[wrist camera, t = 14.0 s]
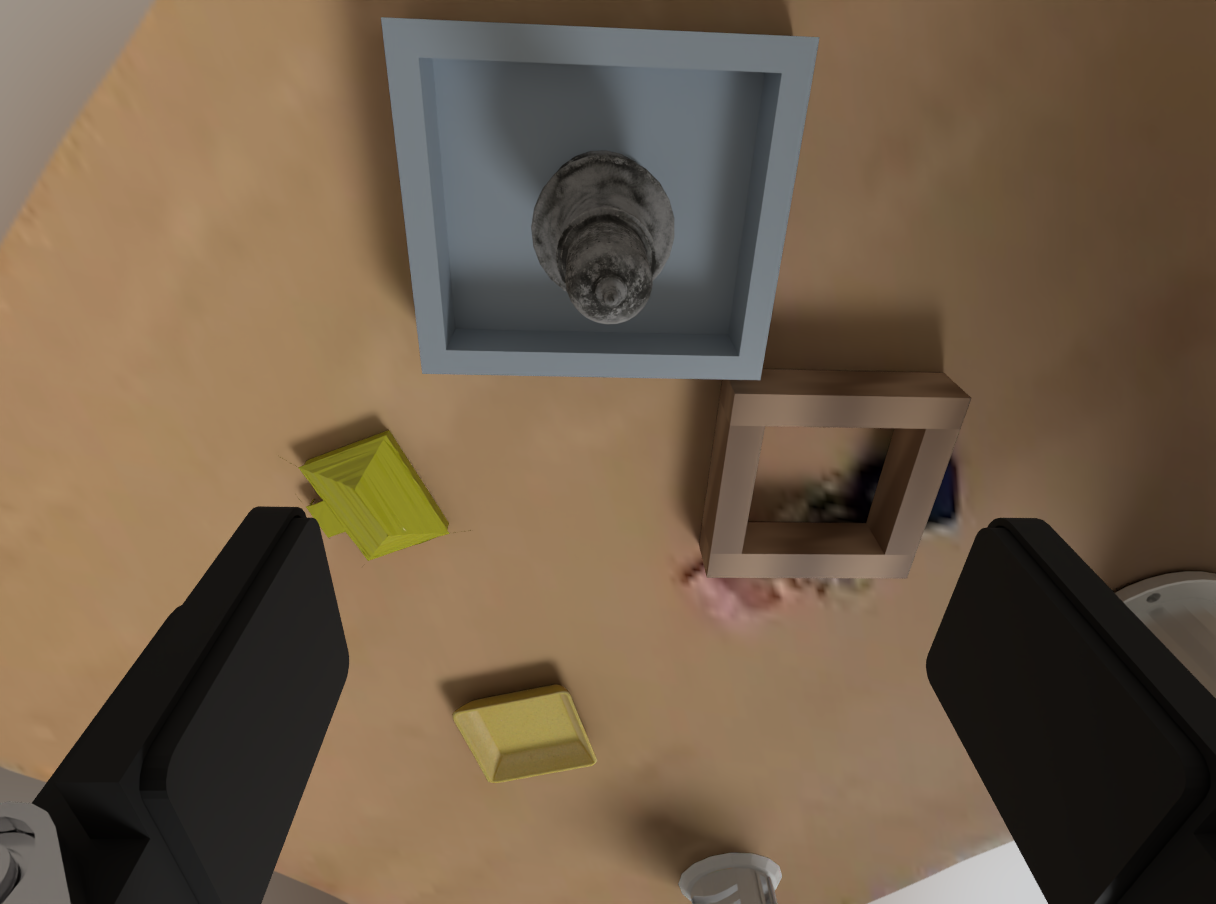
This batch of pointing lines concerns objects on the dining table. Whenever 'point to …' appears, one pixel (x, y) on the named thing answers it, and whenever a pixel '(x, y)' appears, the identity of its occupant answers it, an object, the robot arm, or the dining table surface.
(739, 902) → the french press
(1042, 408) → the dining table surface
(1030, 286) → the dining table surface
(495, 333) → the tray
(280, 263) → the dining table surface
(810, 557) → the hollow square frame
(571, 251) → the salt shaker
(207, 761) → the robot arm
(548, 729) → the yellow shallow rimmed piece
